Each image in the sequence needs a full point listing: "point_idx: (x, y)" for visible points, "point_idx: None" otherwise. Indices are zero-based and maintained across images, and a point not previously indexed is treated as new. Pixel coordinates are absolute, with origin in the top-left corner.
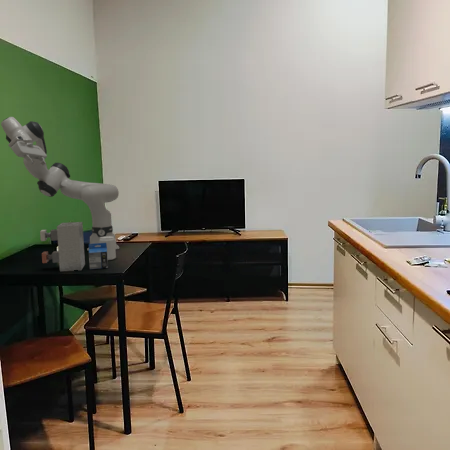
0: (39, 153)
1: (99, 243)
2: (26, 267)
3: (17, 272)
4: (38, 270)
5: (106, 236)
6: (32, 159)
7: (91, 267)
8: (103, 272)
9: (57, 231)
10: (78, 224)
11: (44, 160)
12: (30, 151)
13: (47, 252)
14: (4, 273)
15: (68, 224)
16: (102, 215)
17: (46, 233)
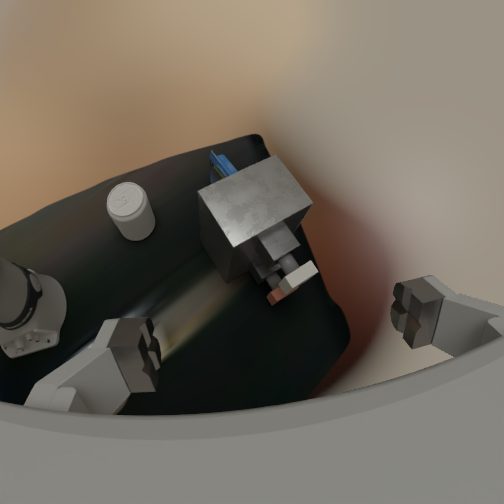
0: (76, 460)
1: (220, 162)
2: (277, 360)
3: (322, 338)
4: (291, 306)
5: (110, 209)
6: (423, 298)
7: None
8: None
9: (308, 209)
10: (254, 167)
11: (78, 355)
12: (498, 400)
13: (276, 288)
14: (338, 358)
15: (264, 196)
16: (3, 262)
17: (297, 265)
